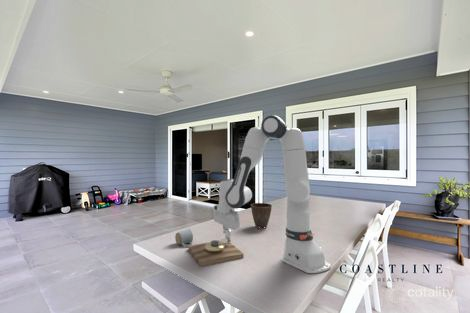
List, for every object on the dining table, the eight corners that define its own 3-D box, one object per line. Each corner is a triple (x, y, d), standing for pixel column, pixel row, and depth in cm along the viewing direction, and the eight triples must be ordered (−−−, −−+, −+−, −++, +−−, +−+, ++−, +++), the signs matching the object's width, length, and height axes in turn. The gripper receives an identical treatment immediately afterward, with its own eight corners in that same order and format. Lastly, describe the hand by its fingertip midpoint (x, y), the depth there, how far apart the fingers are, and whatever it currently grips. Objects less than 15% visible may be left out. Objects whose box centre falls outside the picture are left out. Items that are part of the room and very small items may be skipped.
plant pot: (271, 224, 169) (271, 203, 169) (272, 230, 154) (272, 207, 154) (251, 224, 170) (251, 202, 171) (250, 230, 156) (250, 206, 156)
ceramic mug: (174, 243, 131) (174, 230, 131) (187, 240, 136) (187, 227, 136) (182, 249, 123) (183, 235, 123) (196, 245, 128) (196, 231, 128)
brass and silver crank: (236, 246, 120) (236, 231, 120) (212, 254, 109) (212, 238, 110) (224, 241, 127) (224, 227, 127) (201, 248, 117) (201, 233, 117)
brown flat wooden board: (243, 257, 111) (243, 252, 111) (200, 266, 102) (200, 261, 102) (226, 243, 131) (226, 239, 131) (188, 249, 122) (188, 245, 122)
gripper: (243, 211, 118) (242, 238, 118) (221, 204, 135) (220, 227, 134) (233, 213, 115) (232, 240, 114) (212, 205, 131) (211, 229, 131)
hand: (225, 233), depth 125 cm, fingers closed, pressing on brass and silver crank
